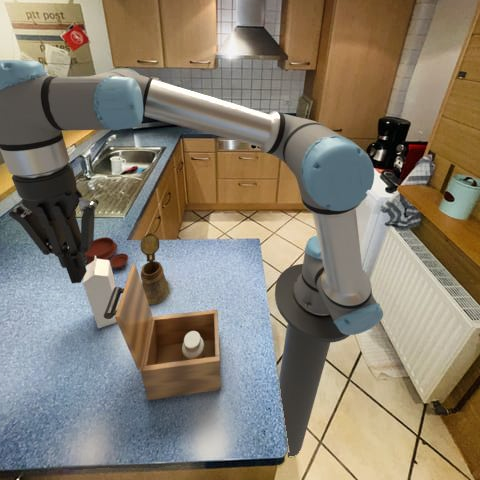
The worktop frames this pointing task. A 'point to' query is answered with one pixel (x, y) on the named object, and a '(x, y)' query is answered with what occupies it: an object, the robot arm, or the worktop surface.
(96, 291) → the milk
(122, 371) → the worktop surface
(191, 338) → the supplement bottle
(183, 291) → the worktop surface
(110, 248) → the pottery
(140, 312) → the chest lid
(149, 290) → the wooden mug
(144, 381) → the chest
